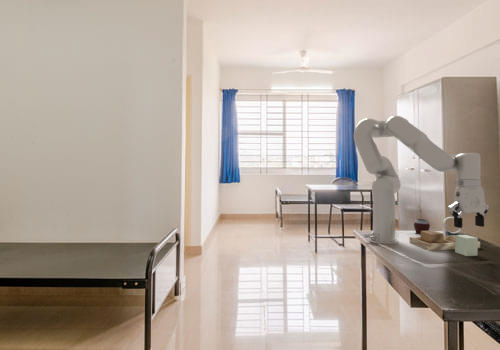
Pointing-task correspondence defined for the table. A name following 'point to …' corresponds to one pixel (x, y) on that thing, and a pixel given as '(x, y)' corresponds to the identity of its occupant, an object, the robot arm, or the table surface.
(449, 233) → the watch
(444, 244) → the slot tray
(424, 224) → the mate gourd
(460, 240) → the sage block
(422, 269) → the table surface
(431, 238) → the walnut block
